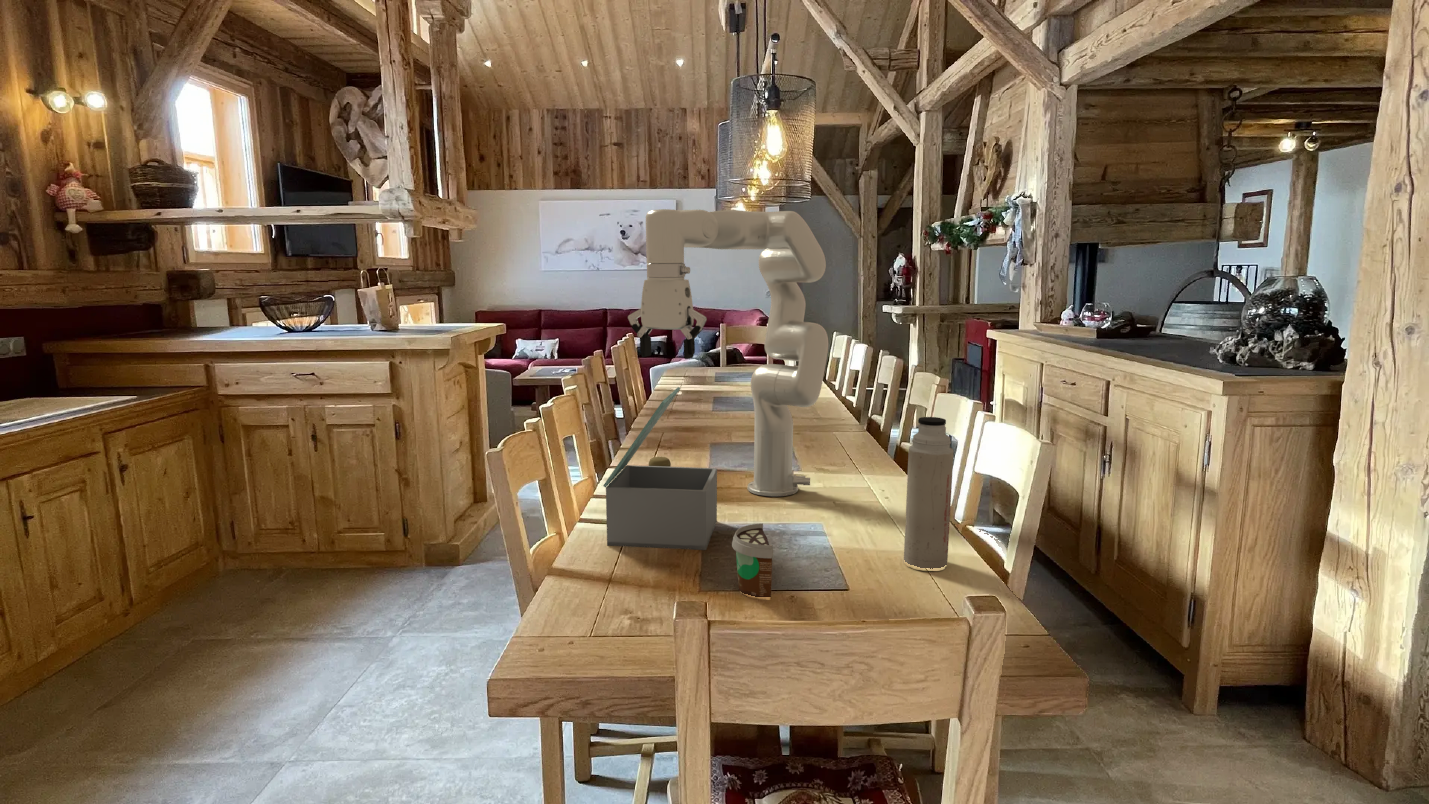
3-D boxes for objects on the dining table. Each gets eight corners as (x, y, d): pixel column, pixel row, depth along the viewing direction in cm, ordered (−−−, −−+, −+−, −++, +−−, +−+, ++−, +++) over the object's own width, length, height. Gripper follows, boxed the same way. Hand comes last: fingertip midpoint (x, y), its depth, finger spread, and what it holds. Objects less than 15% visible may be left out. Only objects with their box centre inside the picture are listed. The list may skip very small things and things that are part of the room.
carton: (716, 521, 173) (716, 468, 171) (705, 550, 156) (706, 491, 154) (627, 517, 176) (626, 465, 174) (607, 545, 158) (605, 487, 156)
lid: (680, 388, 170) (678, 386, 170) (664, 403, 151) (662, 401, 151) (627, 464, 174) (624, 462, 174) (605, 487, 156) (602, 485, 156)
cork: (669, 507, 183) (668, 461, 181) (644, 505, 184) (643, 459, 183) (675, 499, 189) (675, 455, 187) (651, 498, 190) (650, 453, 188)
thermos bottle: (952, 561, 150) (960, 417, 145) (940, 575, 143) (948, 424, 139) (911, 553, 154) (917, 412, 149) (897, 566, 147) (904, 419, 143)
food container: (728, 576, 143) (728, 523, 141) (761, 575, 143) (762, 522, 141) (735, 605, 131) (736, 547, 129) (772, 603, 131) (773, 546, 129)
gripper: (712, 272, 159) (713, 356, 162) (636, 272, 165) (638, 353, 168) (697, 273, 152) (698, 361, 155) (618, 273, 158) (621, 357, 162)
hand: (667, 357), depth 162 cm, fingers open, 9 cm apart
